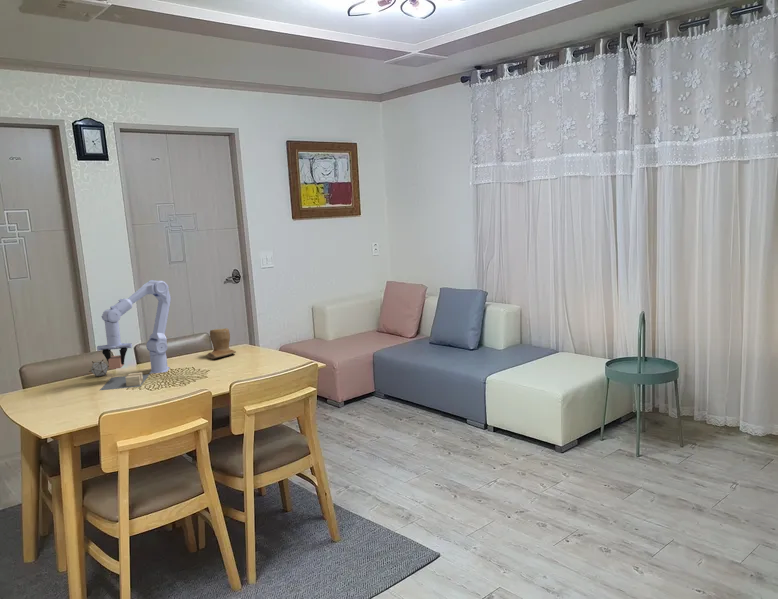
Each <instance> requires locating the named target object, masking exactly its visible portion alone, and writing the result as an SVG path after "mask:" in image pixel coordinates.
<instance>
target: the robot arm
mask: <svg viewBox="0 0 778 599" xmlns="http://www.w3.org/2000/svg"><path fill="white" fill-rule="evenodd" d="M169 289H170V288H169V284H167V282H165V281H164V280H155V279H150V280H149V281H148V282H145V283H144V284H143V285H142V286H141V287H139V289H137V290H136V291H135V292H133V293H132V294H131V295H129V297H128V298H119V300H118V302H117V303H114V305H111V306H110V308H108V309H105V310H104V311H103V312H102V315H101V319H102V320H103V322H104V328H105V329H104V330H105V337H106V344H103V345H98V346H96V350H97V352H100V351H102V355H103V356H104V357H105V359H106V361H107V365H109V361H108V359H109V358H110V357H112V355H111V354H112V353H111V350H119V354H120V355H121V363H122V365H123V364H124V365H125V359H126V354H127V352H128V349H132V348H133V344H132V343H129V342H128V343H127V342H126V343H123V342H122V340H121V333H120V323H119V321H120V319H121V317H122V316H123V315H125V314H126V313H128V311H130V310H131V309H132V308H133V305H134V304H135V303H136V302H138V301H139V300H141V299H142V298H144V297H145V296H146V295H147V296H148V295H152V296H154V297H155V298H156V299H157V301H158V302H157V308H156V313H155V319H154V325H153V330H152V333H151V334H150V336H149V339H148V341H147V342H146V344H145V345H146V349H147V351H149V361H150V371H149V372H148V374H150V375H151V374H159V373H160V374H161V373H162V374H163V373H167V372H168V371H169V369H170V366H168V357H167V353H166V351H167V350H168V342H167V341H168V338H167V337H166V335H165V334H166V330H167V324H168V318H169V311H170V307H171V306H170V305H171V300H172V297H171V293H170V291H169ZM124 365H123V366H124Z"/></svg>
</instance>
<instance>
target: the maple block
mask: <svg viewBox="0 0 778 599" xmlns="http://www.w3.org/2000/svg"><path fill="white" fill-rule="evenodd" d="M143 375H144V374H143V372H132V373H128V374H127V375H126V376H127V377H126V386H136V385H140V384H141V383H142V382H143Z"/></svg>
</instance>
